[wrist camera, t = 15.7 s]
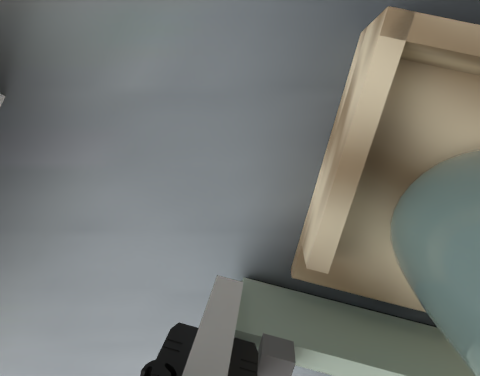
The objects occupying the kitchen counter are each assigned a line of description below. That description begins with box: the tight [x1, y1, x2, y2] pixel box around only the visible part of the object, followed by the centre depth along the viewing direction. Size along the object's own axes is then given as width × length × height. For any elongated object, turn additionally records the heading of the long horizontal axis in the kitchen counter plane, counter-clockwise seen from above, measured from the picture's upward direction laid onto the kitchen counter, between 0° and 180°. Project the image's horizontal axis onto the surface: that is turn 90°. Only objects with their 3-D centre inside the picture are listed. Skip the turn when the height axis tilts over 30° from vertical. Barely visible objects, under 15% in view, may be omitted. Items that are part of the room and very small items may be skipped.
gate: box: [234, 277, 475, 376], centre depth 15 cm, size 1×12×6 cm, turn 78°
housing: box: [291, 6, 480, 312], centre depth 14 cm, size 13×14×4 cm
